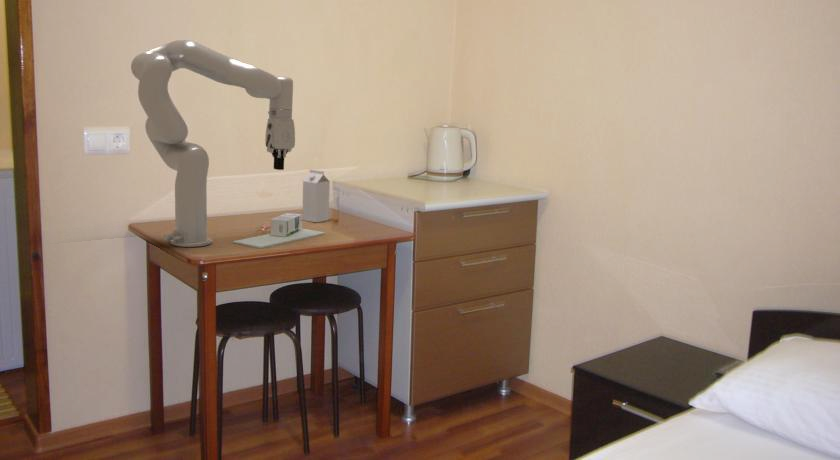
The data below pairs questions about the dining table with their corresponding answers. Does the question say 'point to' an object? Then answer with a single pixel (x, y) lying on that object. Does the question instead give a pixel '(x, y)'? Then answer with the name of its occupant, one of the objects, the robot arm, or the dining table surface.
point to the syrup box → (286, 224)
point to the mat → (277, 239)
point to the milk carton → (316, 197)
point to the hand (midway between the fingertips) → (278, 169)
